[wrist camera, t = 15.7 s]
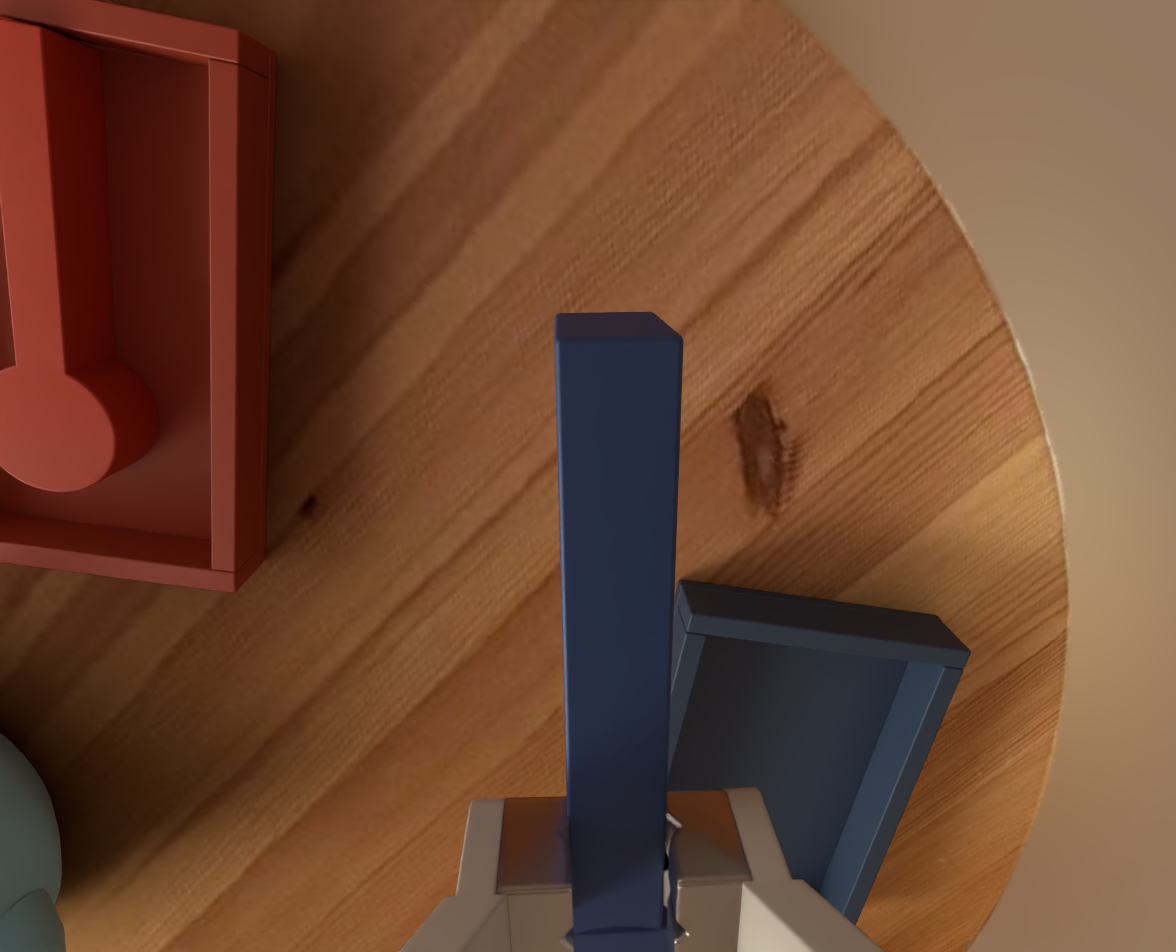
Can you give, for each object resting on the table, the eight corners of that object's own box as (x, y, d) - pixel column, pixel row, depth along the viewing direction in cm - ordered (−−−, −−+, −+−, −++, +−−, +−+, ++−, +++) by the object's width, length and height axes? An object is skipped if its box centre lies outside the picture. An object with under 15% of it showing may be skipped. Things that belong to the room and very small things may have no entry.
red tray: (-119, -29, 19) (-215, -66, 16) (277, 52, 20) (239, 28, 18) (-42, 518, 24) (-107, 549, 22) (265, 560, 25) (235, 594, 23)
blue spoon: (461, 314, 10) (431, 340, 7) (746, 309, 10) (804, 333, 7) (507, 956, 14) (497, 1099, 12) (704, 947, 14) (732, 1085, 12)
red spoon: (-1, 29, 19) (-76, 1, 17) (150, 60, 19) (96, 37, 17) (37, 457, 23) (-19, 482, 21) (161, 476, 24) (119, 502, 21)
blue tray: (679, 578, 26) (690, 613, 24) (937, 615, 27) (972, 651, 25) (600, 893, 32) (604, 947, 29) (818, 914, 33) (838, 967, 30)
